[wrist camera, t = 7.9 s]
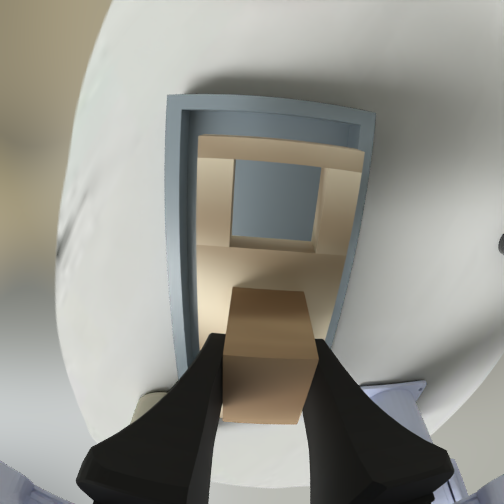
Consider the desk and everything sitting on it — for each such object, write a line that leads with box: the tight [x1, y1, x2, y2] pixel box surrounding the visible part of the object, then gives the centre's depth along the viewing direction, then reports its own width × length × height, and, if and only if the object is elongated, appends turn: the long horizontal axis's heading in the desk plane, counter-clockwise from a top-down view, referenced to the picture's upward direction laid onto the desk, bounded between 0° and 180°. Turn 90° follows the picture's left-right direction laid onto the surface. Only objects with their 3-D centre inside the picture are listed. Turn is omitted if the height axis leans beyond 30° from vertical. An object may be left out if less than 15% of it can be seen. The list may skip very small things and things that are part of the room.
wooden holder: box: [196, 134, 365, 424], centre depth 12 cm, size 16×6×5 cm, turn 176°
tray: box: [165, 94, 376, 379], centre depth 18 cm, size 20×11×2 cm, turn 176°
